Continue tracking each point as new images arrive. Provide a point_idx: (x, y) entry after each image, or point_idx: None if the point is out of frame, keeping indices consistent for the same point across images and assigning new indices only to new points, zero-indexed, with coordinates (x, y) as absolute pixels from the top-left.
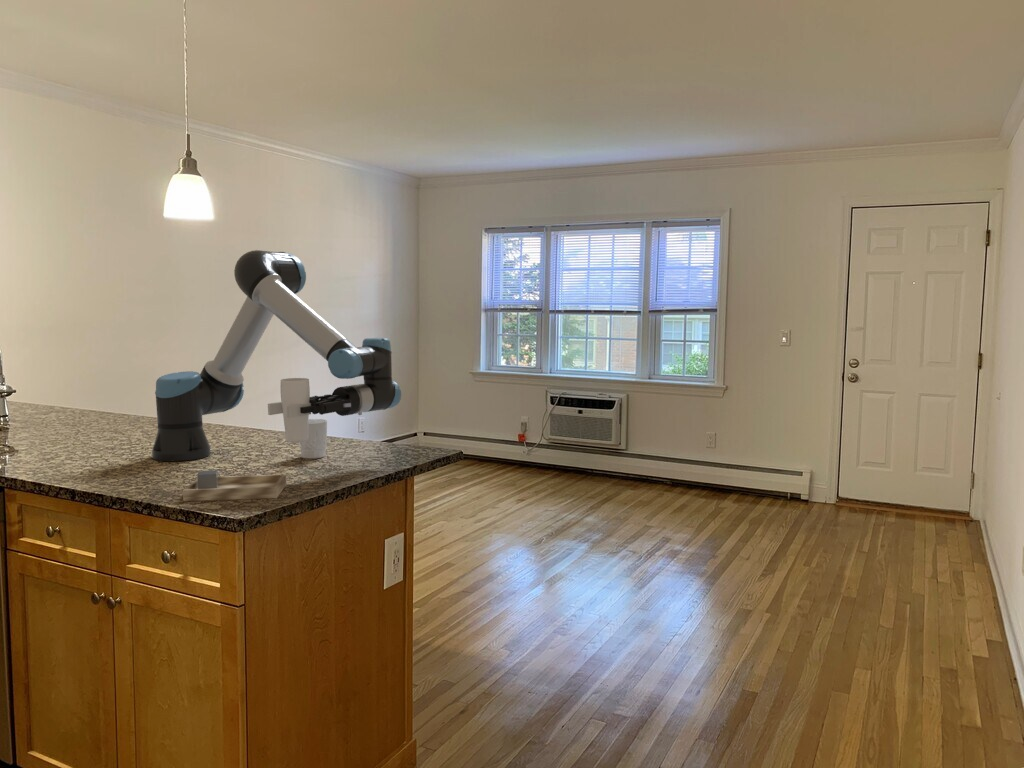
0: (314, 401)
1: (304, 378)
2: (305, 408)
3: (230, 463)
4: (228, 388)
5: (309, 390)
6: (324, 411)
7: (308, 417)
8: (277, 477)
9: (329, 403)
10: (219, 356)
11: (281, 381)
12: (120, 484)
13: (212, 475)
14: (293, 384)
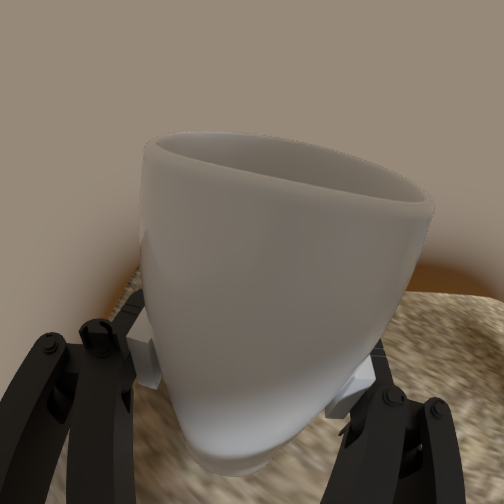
0: (91, 322)
1: (317, 190)
2: (130, 300)
3: (479, 465)
4: None
5: (146, 287)
6: (59, 400)
7: (180, 422)
8: None
9: (10, 388)
10: None
11: (319, 154)
12: (424, 317)
13: None
14: (212, 156)
